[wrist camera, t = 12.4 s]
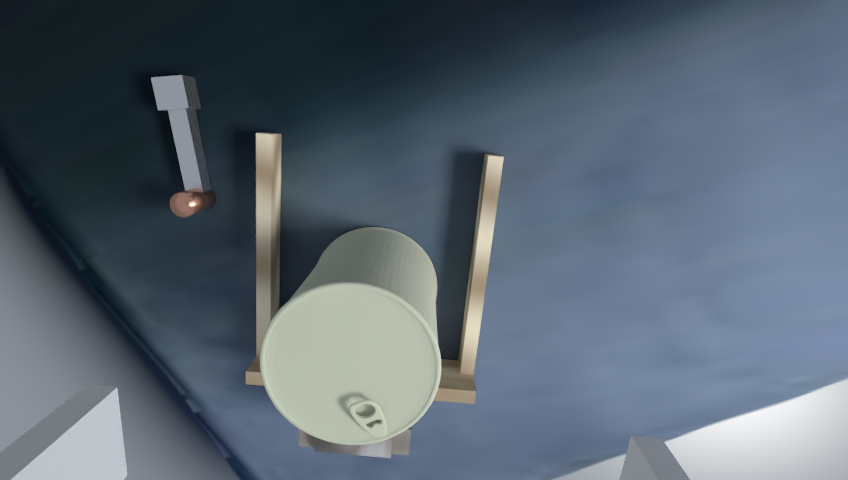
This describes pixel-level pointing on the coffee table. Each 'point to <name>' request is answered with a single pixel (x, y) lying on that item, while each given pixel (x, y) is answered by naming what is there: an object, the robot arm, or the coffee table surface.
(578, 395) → the coffee table surface
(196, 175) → the crank handle
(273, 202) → the wooden frame
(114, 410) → the robot arm
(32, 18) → the coffee table surface
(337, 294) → the can
